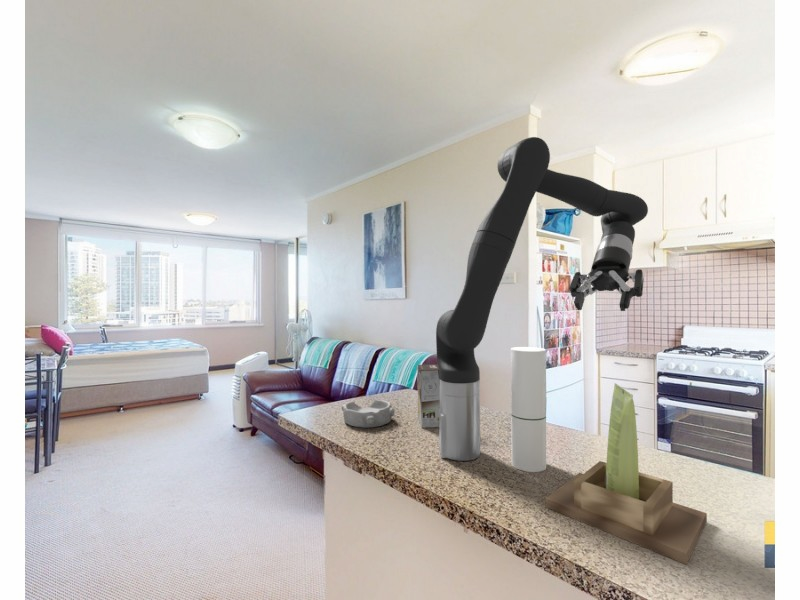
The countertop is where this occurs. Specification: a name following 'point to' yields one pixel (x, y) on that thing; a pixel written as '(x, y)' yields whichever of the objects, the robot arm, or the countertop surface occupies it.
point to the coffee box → (428, 395)
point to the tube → (622, 446)
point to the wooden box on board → (632, 512)
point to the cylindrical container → (528, 408)
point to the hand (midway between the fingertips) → (599, 308)
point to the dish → (368, 414)
